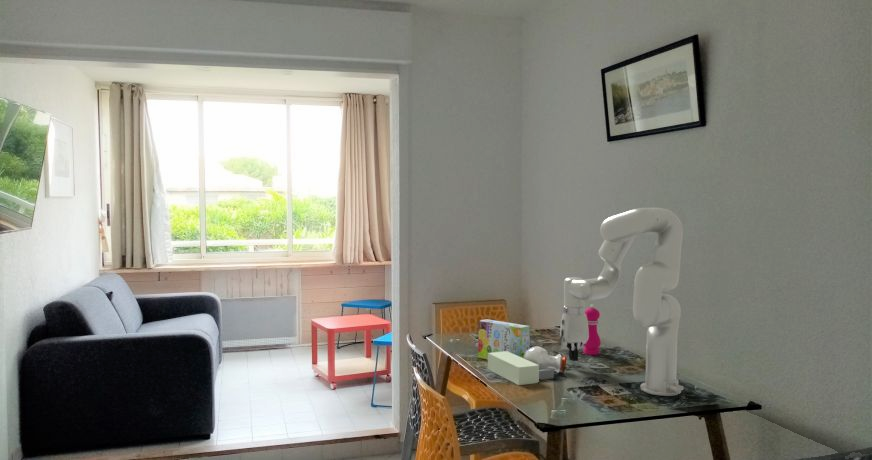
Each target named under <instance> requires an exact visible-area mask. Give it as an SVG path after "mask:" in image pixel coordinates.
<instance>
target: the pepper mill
mask: <svg viewBox="0 0 872 460" xmlns="http://www.w3.org/2000/svg"><path fill="white" fill-rule="evenodd" d="M589 307H590V308H587V309H586V310H585V314H586V315H587V320H588V329H589V339H588V341H587V342H586V343H585V344H582V346H584V347H583V354H585V355H589V356H596V355H600V348H599V347H600V346H601V344H602V342H601V341H602V340H601V338H600V335H599V333H598V325H599V320H598V319H600V316H601V314H600V311H599V310H598V309H597V308H595V305H594V304H592V303H591V304H590V306H589Z"/></svg>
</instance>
